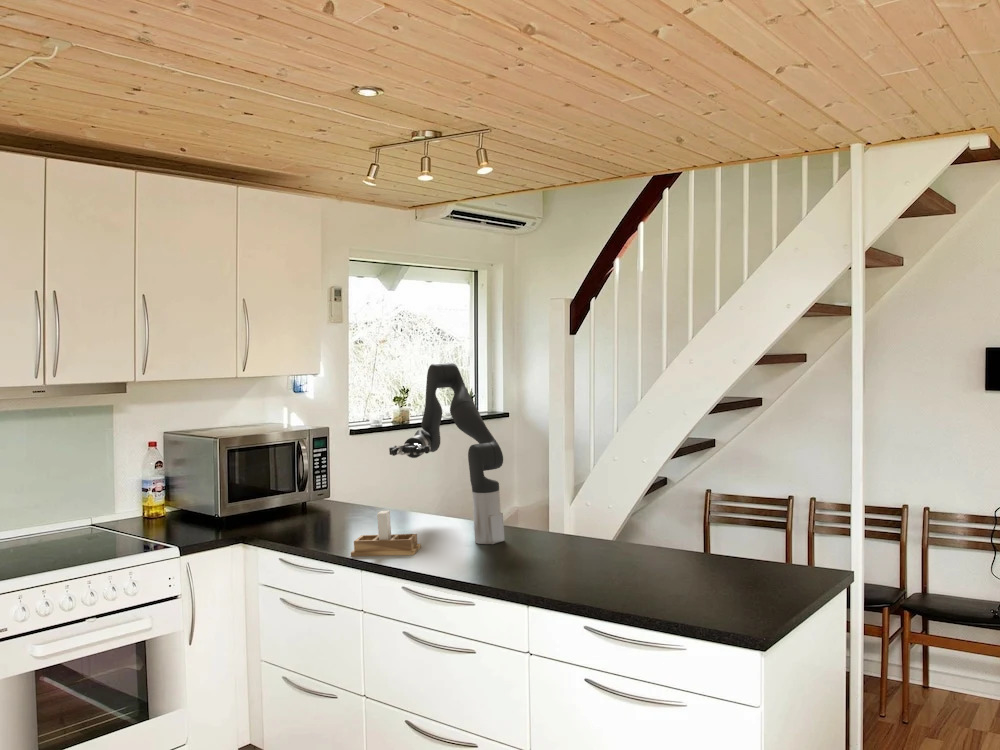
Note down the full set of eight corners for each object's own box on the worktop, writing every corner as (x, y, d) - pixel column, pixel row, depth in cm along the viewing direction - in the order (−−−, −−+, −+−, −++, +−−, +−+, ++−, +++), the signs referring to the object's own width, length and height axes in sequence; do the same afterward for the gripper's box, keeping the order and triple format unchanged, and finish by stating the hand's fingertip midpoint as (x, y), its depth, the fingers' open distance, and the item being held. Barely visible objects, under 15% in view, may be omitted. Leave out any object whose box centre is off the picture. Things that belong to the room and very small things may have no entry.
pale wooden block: (383, 546, 286) (380, 510, 285) (391, 546, 285) (389, 510, 285) (379, 549, 281) (377, 513, 281) (388, 549, 281) (386, 513, 280)
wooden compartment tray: (360, 548, 290) (359, 534, 290) (421, 547, 287) (420, 533, 287) (350, 556, 280) (350, 541, 280) (413, 554, 277) (412, 540, 277)
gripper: (397, 436, 319) (384, 442, 303) (434, 435, 317) (424, 440, 301) (398, 457, 319) (386, 463, 303) (435, 455, 317) (425, 462, 301)
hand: (405, 452), depth 302 cm, fingers open, 8 cm apart
